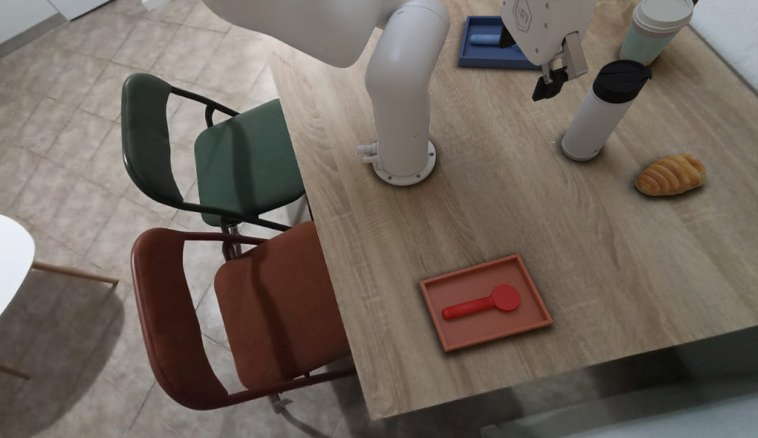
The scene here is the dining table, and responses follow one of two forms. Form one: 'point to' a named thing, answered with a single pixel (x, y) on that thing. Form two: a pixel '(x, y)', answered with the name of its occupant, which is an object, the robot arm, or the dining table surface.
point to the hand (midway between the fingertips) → (527, 69)
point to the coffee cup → (654, 28)
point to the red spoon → (486, 302)
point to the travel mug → (604, 107)
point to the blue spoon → (489, 41)
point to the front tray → (480, 285)
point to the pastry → (672, 175)
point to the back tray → (489, 47)
